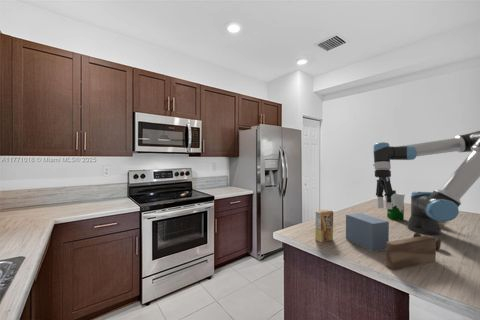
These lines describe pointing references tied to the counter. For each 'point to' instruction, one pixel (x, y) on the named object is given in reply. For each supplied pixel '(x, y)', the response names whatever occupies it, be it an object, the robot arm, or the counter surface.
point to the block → (367, 231)
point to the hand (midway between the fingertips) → (384, 208)
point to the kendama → (438, 241)
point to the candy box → (324, 225)
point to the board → (410, 252)
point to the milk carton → (396, 207)
